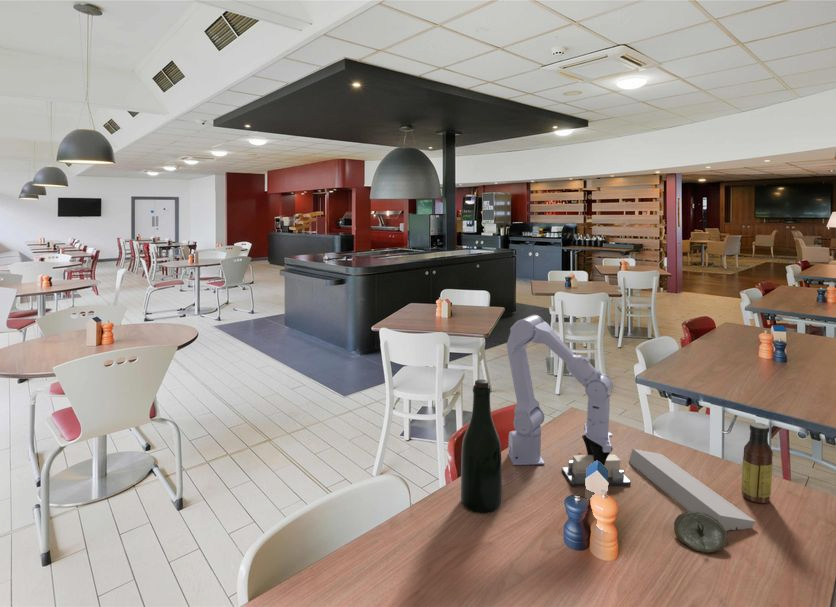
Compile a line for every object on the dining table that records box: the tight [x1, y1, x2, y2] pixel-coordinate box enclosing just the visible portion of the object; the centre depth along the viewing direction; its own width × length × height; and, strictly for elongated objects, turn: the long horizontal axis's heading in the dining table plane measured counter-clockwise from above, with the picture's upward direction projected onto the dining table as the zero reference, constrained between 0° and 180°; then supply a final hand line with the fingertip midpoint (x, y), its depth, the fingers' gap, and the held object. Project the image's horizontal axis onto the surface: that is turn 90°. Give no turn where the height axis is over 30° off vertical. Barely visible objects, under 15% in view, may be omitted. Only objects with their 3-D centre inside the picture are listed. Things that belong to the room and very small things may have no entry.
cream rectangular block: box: [572, 453, 621, 477], centre depth 136 cm, size 12×4×5 cm, turn 91°
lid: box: [673, 511, 729, 554], centre depth 109 cm, size 11×10×5 cm
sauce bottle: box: [741, 421, 774, 504], centre depth 124 cm, size 6×6×20 cm
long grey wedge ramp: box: [628, 448, 757, 532], centre depth 129 cm, size 34×5×10 cm
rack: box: [561, 460, 632, 488], centre depth 136 cm, size 16×9×4 cm, turn 91°
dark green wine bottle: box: [460, 379, 503, 514], centre depth 122 cm, size 10×10×33 cm
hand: (595, 464), depth 136 cm, fingers open, 4 cm apart
